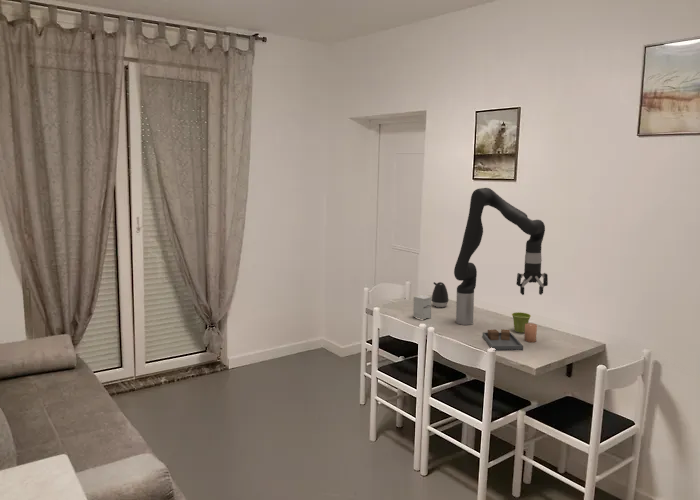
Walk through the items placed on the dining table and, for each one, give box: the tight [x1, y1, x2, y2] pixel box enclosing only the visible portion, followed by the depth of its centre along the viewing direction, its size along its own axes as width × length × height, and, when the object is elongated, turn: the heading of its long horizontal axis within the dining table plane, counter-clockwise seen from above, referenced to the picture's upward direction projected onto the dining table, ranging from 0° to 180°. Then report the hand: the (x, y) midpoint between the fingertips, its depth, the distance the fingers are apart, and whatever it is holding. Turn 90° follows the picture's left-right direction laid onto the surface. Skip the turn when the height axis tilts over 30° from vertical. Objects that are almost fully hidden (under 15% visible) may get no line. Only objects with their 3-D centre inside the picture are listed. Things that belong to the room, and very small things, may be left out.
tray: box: [481, 331, 524, 351], centre depth 255 cm, size 20×14×2 cm
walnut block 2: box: [500, 328, 511, 340], centre depth 260 cm, size 4×4×4 cm
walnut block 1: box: [487, 329, 500, 340], centre depth 260 cm, size 4×4×4 cm
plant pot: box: [511, 311, 532, 334], centre depth 273 cm, size 9×9×9 cm
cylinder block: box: [523, 322, 538, 343], centre depth 259 cm, size 6×6×8 cm
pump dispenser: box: [431, 281, 449, 308], centre depth 322 cm, size 10×10×15 cm
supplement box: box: [412, 294, 432, 319], centre depth 297 cm, size 7×7×13 cm
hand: (531, 294), depth 255 cm, fingers open, 8 cm apart
